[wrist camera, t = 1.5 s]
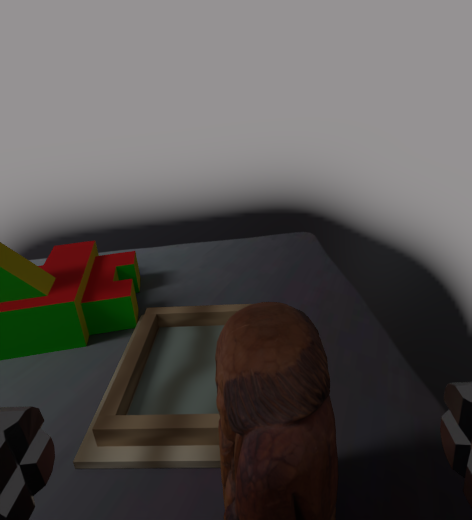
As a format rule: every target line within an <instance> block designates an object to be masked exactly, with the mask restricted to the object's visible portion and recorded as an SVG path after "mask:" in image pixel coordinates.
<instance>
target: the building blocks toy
mask: <svg viewBox="0 0 472 520" xmlns="http://www.w3.org/2000/svg"><path fill="white" fill-rule="evenodd" d="M138 292H140V273H139V268H138V263H137V258H136V252H135V251H132V252H124V253H117V254H110V255H102V256H99V255H98V251H97V247H96V243H95V241H89V242H81V243H73V244H66V245H59V246H54V248H53V249H52V251H51V253H50V255H49V256H48V258H47V260H46V262H45V263H44V265H43V266H36V265H35V264H33V263H32V262H30V261H29V260H27V259H26V258H24V257H22V256H21V255H19V254H18V253H16V252H15V251H13V250H11V249H10V248H8V247H7V246H5V245H4V244H2V243H1V242H0V360H5V359H11V358H18V357H24V356H30V355H36V354H42V353H48V352H54V351H61V350H67V349H73V348H79V347H85V346H87V342H88V338H89V335H93V334H100V333H106V332H112V331H119V330H125V329H131V328H136V325H137V322H138V304H137V299H136V294H135V293H138Z"/></svg>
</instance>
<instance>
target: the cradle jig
mask: <svg viewBox="0 0 472 520" xmlns="http://www.w3.org/2000/svg"><path fill="white" fill-rule="evenodd" d="M249 305H252V304H237V305H210V306H183V307H156V308H147V309H146V312H145V314H144V315H141V317H140V319H139V321H138V323H137V325H136V328H135V330H134V332H133V334H132V336H131V338H130V340H129V343H128V345H127V347H126V349H125V351H124V353H123V356H122V358H121V360H120V362H119V364H118V366H117V368H116V371H115V373H114V375H113V377H112V379H111V381H110V384H109V386H108V388H107V390H106V392H105V394H104V397H103V399H102V401H101V403H100V405H99V407H98V409H97V412H96V414H95V416H94V418H93V420H92V422H91V425H90V427H89V429H88V431H87V433H86V435H85V437H84V440H83V442H82V444H81V446H80V448H79V450H78V453H77V455H76V457H75V459H74V461H73V463H74V466H75V469H96V468H221V464H220V448H219V433H218V426H219V419H220V415H219V411H218V409H217V404H216V399H217V386H216V381H215V376H216V361H215V354H216V347H217V341H218V338H219V335H220V333H221V331H222V329H223V327H224V325H225V324H226V322H227V321H228V319H229V318H230V317H231V316H232V315H234V314H235V313H236V312H237V311H239V310H241V309H243V308H244V307H247V306H249Z"/></svg>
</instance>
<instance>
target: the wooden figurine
mask: <svg viewBox="0 0 472 520" xmlns="http://www.w3.org/2000/svg"><path fill="white" fill-rule="evenodd" d="M215 361H216V376H215V381H216V386H217V399H216V404H217V409H218V411H219V415H220V419H219V426H218V433H219V448H220V464H221V475H222V484H223V495H224V506H225V514H224V520H336V518H335V514H336V508H335V504H336V500H337V487H338V457H337V447H336V428H335V418H334V413H333V408H332V404H331V400H330V396H329V393H330V377H329V372H328V364H327V356H326V354H325V351H324V348H323V345H322V342H321V339H320V337H319V333H318V330H317V329H316V327H315V326H314V324H313V323H312V321H311V320H310V319H309V317H308V316H306V315H305V313H303V312H302V311H300V310H297V309H295V308H293V307H291V306H288V305H286V304H283V303H277V302H262V303H257V304H252V305H249V306H247V307H244V308H243V309H241V310H239V311H237V312H236V313H235V314H234V315H232V316H231V317H230V318H229V319H228V321H227V322H226V324H225V325H224V327H223V329H222V331H221V333H220V335H219V338H218V341H217V347H216V354H215Z"/></svg>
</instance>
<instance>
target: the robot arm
mask: <svg viewBox="0 0 472 520" xmlns="http://www.w3.org/2000/svg"><path fill="white" fill-rule="evenodd" d="M444 401H445V403H446V405H447V406H448V408H449V410H448V411H447V412H446V413H445V414H444V415H443V416H442V417H441V428H440V432H441V439H442V446H443V449H444V452H445V455H446V457H447V459H448V462H449V464H450V466H451V468H452V469H453V470H454V471H455V472H457V473H458V474H459V475H461V476H462V477H463V478H465V482H464V488H463V492H464V494H465V496H466V498H467V500H468V502H469V504H470V506H471V508H472V382H461V383H448V385H447V387H446V388H445V394H444ZM43 422H44V419H43V417H42V414H41V412H40V410H39V408H35V407H0V520H29V518H30V516H31V514H32V512H33V510H34V508H35V503H34V498H33V496H34V495H35V494H36V493H37V492H38V491H40V490H41V489H42V488H43V487H44V486H46V484H47V482H48V480H49V477H50V475H51V473H52V470H53V465H54V459H55V451H54V444H53V442H52V439H51V436H49V435H48V434H47V433H45V432H44V431H43V430H41V429H40V428H41V426H42V424H43Z"/></svg>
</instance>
